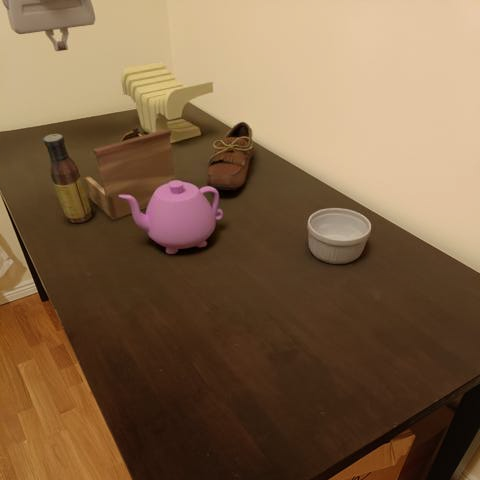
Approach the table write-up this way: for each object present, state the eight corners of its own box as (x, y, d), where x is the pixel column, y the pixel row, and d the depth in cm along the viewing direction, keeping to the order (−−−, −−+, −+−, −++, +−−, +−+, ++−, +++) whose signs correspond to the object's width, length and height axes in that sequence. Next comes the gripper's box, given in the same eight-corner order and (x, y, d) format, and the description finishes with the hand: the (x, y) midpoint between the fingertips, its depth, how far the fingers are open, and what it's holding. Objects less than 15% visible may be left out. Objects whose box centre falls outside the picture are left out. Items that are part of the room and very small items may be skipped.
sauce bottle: (82, 209, 108) (59, 128, 95) (98, 217, 106) (76, 135, 92) (60, 219, 105) (32, 137, 91) (75, 228, 102) (49, 144, 88)
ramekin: (294, 240, 97) (297, 213, 93) (345, 229, 101) (350, 202, 96) (322, 274, 89) (327, 246, 84) (377, 260, 92) (384, 232, 87)
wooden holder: (90, 199, 112) (71, 133, 100) (153, 179, 120) (143, 115, 108) (112, 220, 104) (96, 151, 93) (178, 197, 113) (170, 131, 101)
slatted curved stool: (129, 126, 150) (119, 69, 137) (169, 116, 156) (162, 61, 144) (172, 154, 132) (165, 92, 120) (215, 142, 139) (212, 81, 126)
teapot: (137, 270, 90) (125, 211, 80) (123, 232, 100) (111, 177, 91) (235, 247, 96) (234, 190, 86) (212, 214, 106) (209, 160, 97)
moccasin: (232, 204, 109) (230, 158, 101) (188, 196, 113) (183, 150, 104) (270, 157, 130) (272, 115, 122) (233, 151, 134) (232, 110, 125)
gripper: (1, -14, 93) (24, 59, 103) (90, -21, 102) (103, 46, 112) (-7, -17, 97) (16, 54, 106) (79, -24, 106) (93, 42, 115)
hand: (61, 50), depth 109 cm, fingers closed
